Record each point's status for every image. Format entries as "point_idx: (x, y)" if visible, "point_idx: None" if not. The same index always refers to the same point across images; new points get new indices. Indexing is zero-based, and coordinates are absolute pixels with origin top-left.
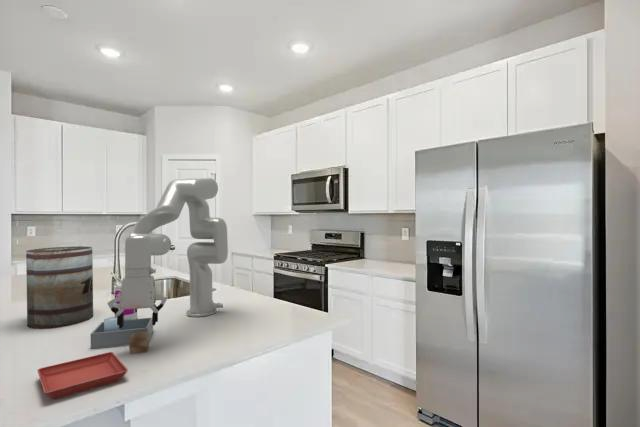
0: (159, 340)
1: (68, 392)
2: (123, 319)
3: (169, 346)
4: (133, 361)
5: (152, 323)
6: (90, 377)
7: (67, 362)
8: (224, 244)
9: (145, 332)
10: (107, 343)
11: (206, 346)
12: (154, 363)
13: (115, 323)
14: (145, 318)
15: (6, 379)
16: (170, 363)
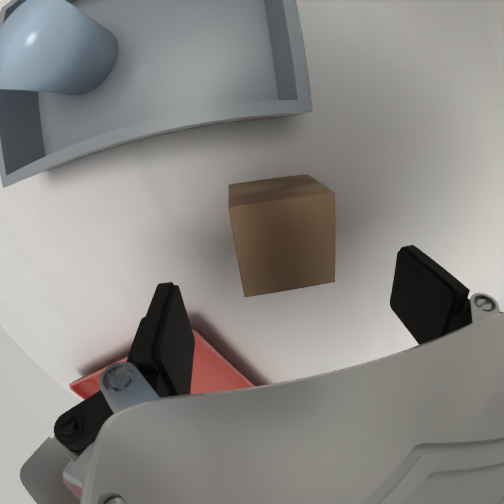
0: (341, 100)
1: None
2: (171, 322)
3: (392, 201)
4: (279, 324)
5: (396, 313)
6: None
7: (100, 373)
8: None
9: (316, 202)
10: (90, 153)
11: (476, 235)
12: (346, 340)
13: (54, 63)
14: None
15: (21, 347)
16: (384, 340)
